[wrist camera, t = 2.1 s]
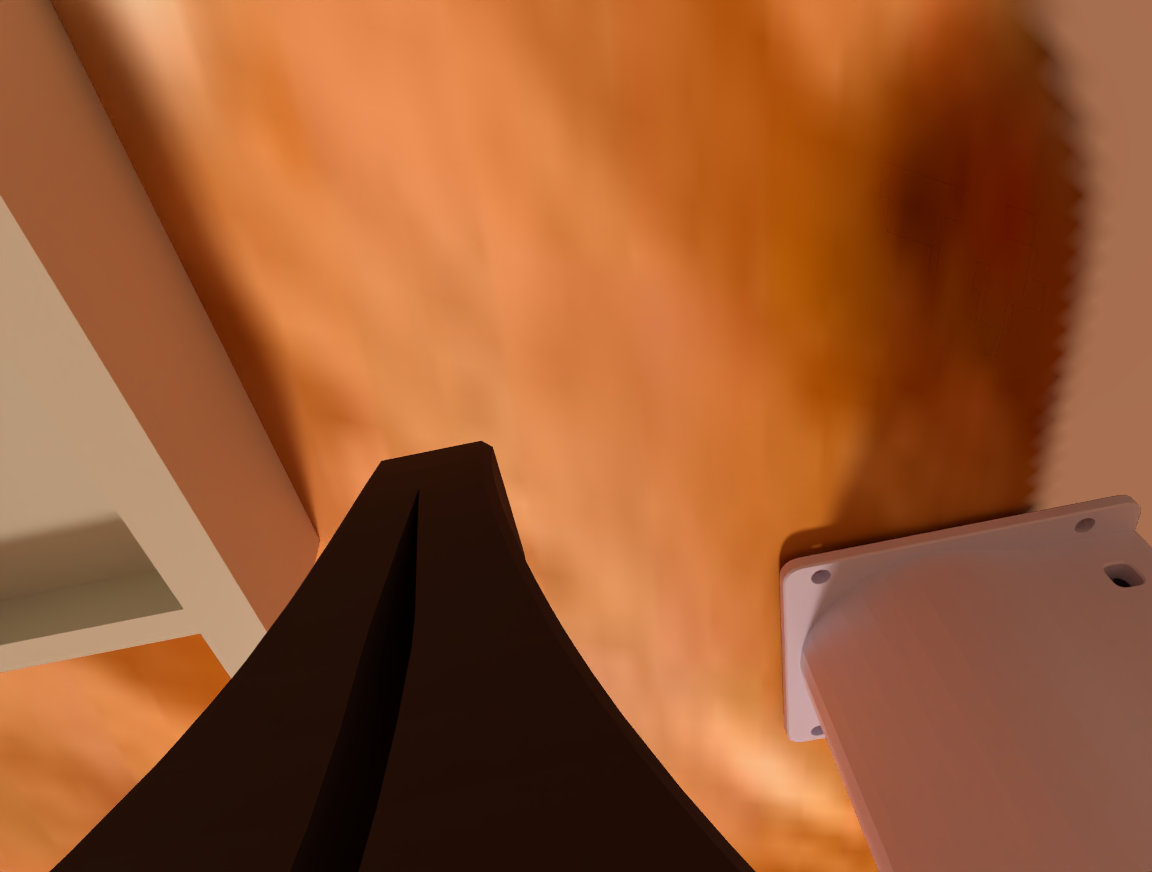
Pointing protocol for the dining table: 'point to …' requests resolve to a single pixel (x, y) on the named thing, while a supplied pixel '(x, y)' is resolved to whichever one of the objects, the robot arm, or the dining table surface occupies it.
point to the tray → (117, 400)
